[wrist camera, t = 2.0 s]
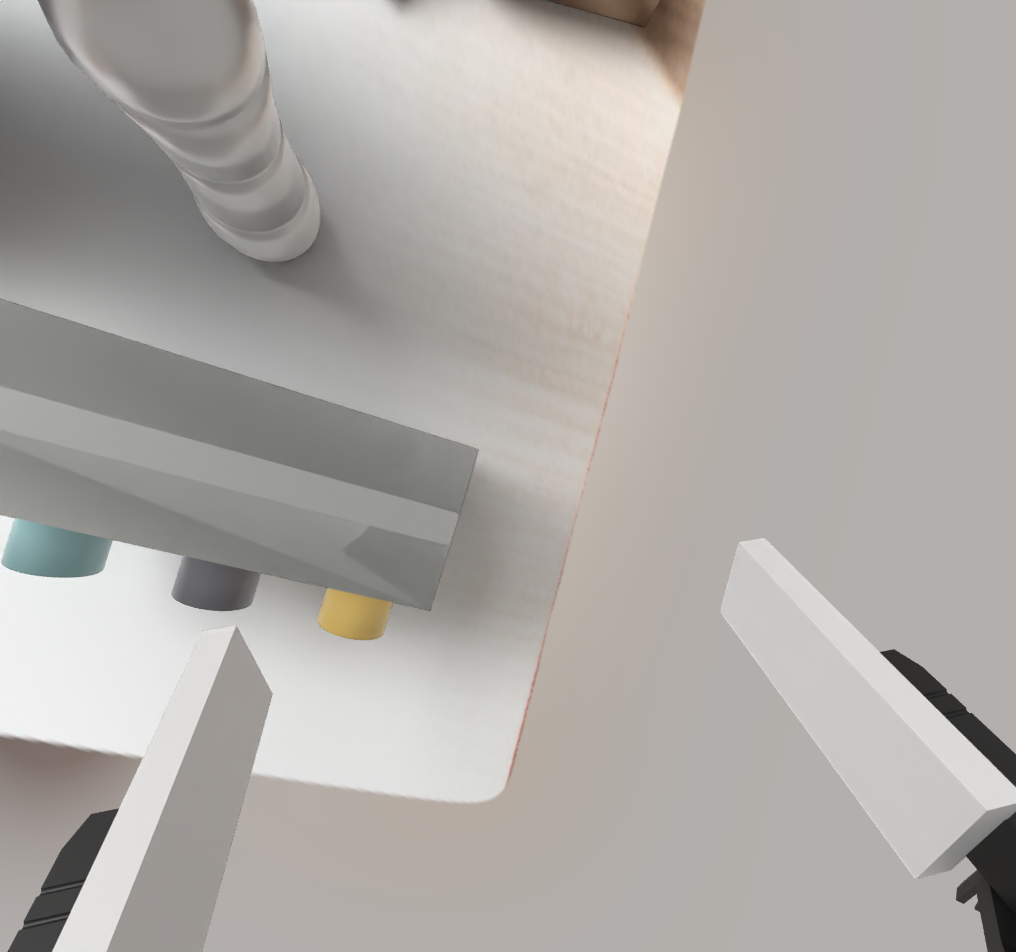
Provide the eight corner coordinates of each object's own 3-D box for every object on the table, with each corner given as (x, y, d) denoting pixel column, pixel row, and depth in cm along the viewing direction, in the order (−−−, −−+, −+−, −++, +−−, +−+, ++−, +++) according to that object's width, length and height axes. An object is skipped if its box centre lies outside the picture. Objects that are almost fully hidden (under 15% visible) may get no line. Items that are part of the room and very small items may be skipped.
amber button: (384, 620, 28) (382, 645, 24) (322, 607, 27) (311, 630, 24) (409, 539, 28) (411, 552, 24) (348, 524, 27) (340, 535, 24)
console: (417, 550, 34) (430, 611, 21) (99, 469, 29) (-133, 485, 16) (448, 449, 34) (479, 449, 21) (136, 352, 29) (-66, 278, 16)
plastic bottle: (296, 293, 31) (125, 26, 11) (192, 232, 29) (-211, -197, 10) (344, 209, 31) (258, -185, 12) (244, 145, 30) (-44, -432, 10)
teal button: (119, 564, 25) (73, 583, 21) (39, 547, 24) (-23, 563, 20) (148, 472, 25) (107, 476, 21) (69, 452, 24) (12, 453, 20)
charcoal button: (260, 594, 26) (239, 616, 23) (190, 579, 25) (157, 600, 22) (286, 508, 26) (269, 517, 23) (217, 490, 25) (189, 497, 22)
